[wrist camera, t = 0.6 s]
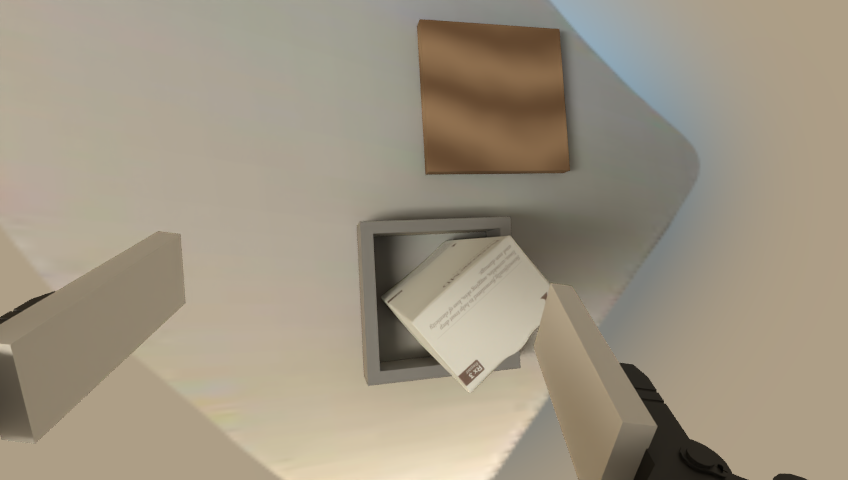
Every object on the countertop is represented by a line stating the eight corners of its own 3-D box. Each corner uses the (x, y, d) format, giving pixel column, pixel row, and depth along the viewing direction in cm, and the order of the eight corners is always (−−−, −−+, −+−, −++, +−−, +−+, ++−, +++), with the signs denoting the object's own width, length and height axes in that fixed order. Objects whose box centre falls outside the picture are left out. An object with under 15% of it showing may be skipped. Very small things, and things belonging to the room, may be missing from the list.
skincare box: (445, 239, 41) (512, 223, 26) (486, 289, 41) (573, 299, 27) (375, 300, 39) (406, 318, 25) (419, 351, 40) (474, 398, 25)
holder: (356, 225, 39) (360, 221, 36) (495, 220, 42) (510, 216, 39) (364, 375, 38) (368, 385, 35) (504, 359, 41) (520, 368, 38)
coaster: (417, 26, 42) (419, 19, 40) (553, 35, 45) (559, 29, 44) (425, 174, 41) (428, 171, 40) (563, 173, 44) (569, 170, 43)
